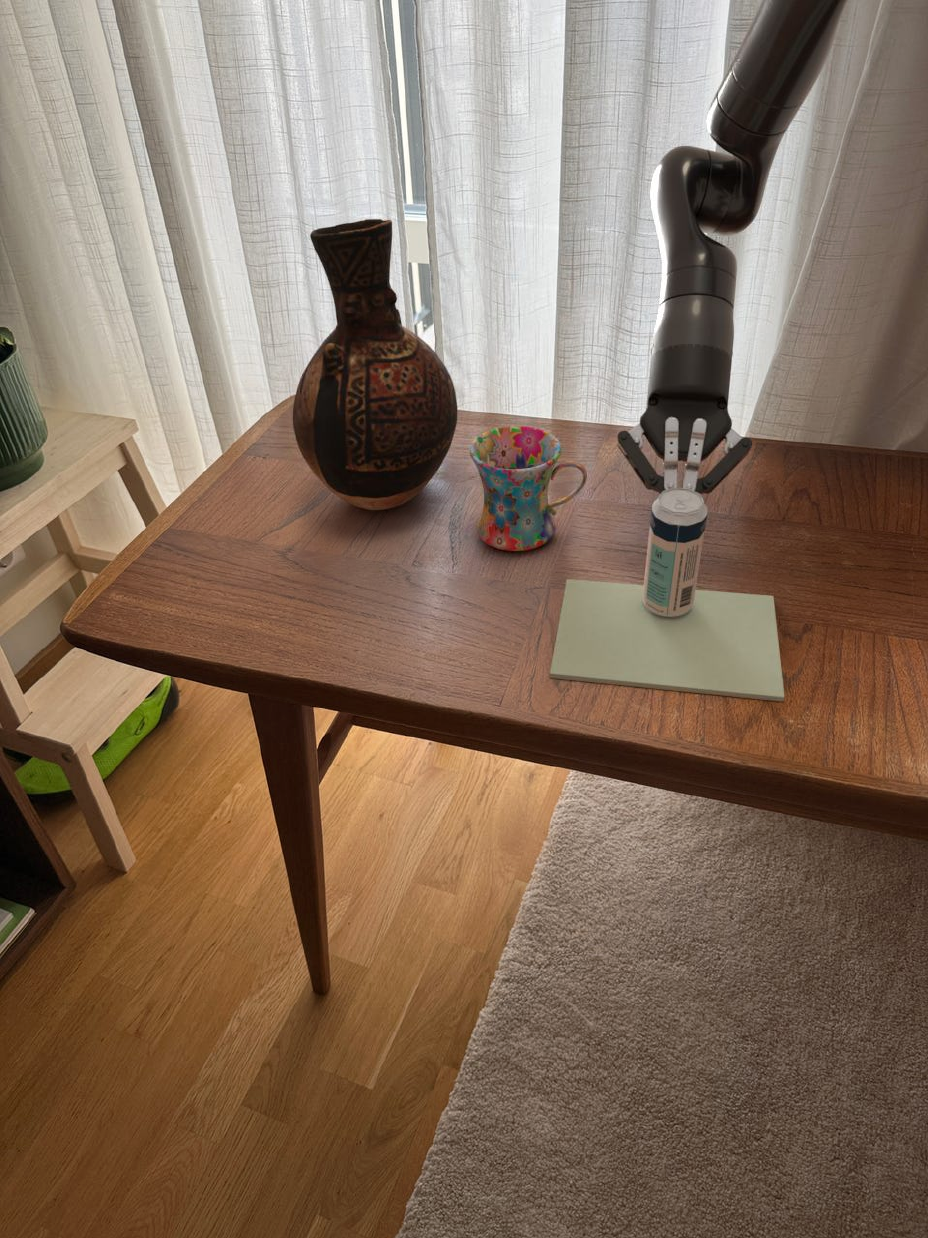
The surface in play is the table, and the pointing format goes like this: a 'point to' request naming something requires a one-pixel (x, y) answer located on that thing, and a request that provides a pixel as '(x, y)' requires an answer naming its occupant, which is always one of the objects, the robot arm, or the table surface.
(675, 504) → the beer can
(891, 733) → the table surface
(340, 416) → the ceramic vessel
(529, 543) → the mug
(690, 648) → the mat
